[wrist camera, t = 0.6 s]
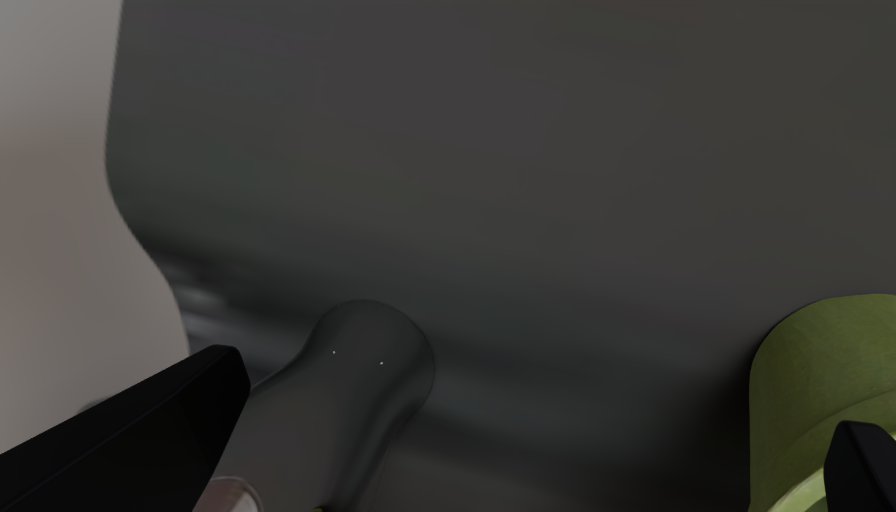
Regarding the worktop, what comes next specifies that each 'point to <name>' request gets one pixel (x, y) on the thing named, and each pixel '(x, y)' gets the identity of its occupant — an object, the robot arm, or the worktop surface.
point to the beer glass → (325, 417)
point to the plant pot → (817, 394)
